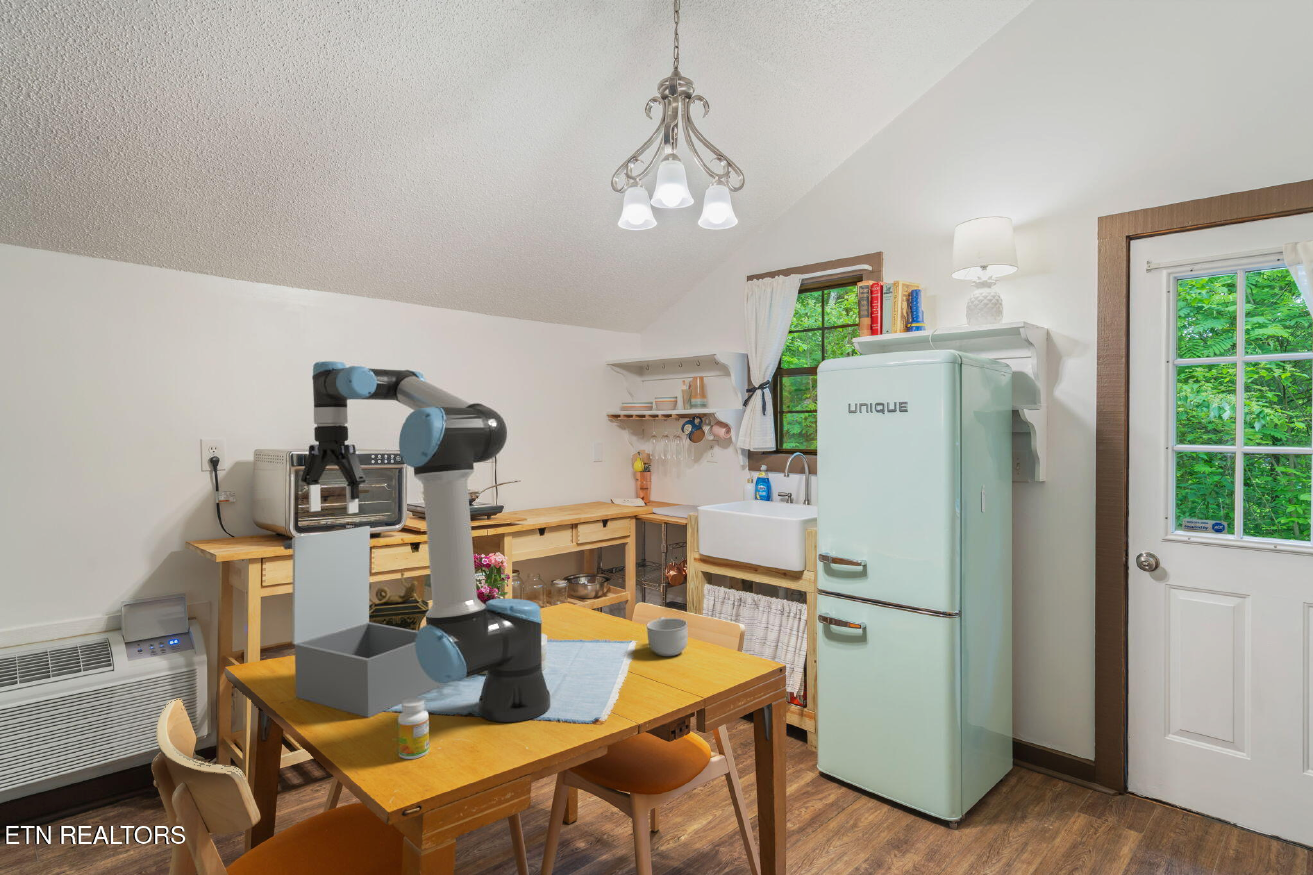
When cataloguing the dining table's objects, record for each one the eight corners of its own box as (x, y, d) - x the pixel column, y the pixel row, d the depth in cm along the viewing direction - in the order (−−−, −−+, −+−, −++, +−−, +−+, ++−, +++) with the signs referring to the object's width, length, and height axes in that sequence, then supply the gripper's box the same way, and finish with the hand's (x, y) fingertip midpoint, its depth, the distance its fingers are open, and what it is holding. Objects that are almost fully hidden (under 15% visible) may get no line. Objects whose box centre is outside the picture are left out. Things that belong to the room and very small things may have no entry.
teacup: (688, 659, 184) (688, 628, 183) (646, 659, 184) (646, 628, 184) (686, 642, 197) (686, 614, 197) (647, 643, 198) (647, 614, 197)
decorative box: (429, 636, 206) (428, 568, 206) (429, 646, 197) (428, 574, 197) (354, 643, 200) (353, 573, 200) (350, 653, 191) (349, 580, 191)
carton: (440, 686, 166) (439, 635, 166) (368, 717, 149) (367, 660, 149) (370, 669, 178) (369, 622, 178) (295, 697, 160) (294, 644, 160)
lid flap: (369, 526, 177) (346, 522, 181) (295, 538, 159) (270, 533, 163) (368, 622, 178) (345, 616, 182) (294, 644, 160) (270, 637, 164)
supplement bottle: (393, 753, 133) (392, 701, 132) (420, 743, 136) (419, 693, 136) (406, 762, 129) (405, 709, 129) (434, 752, 133) (433, 701, 132)
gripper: (379, 424, 172) (381, 511, 172) (310, 426, 184) (313, 508, 184) (353, 424, 165) (356, 515, 166) (284, 426, 177) (286, 512, 177)
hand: (333, 512), depth 175 cm, fingers open, 13 cm apart
